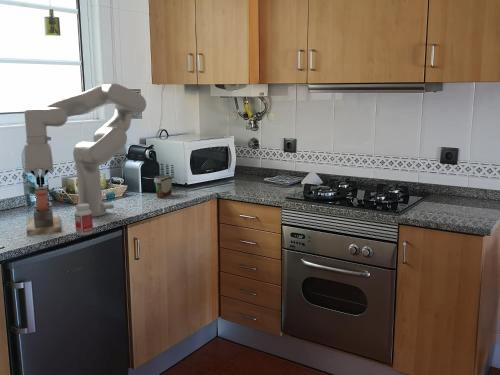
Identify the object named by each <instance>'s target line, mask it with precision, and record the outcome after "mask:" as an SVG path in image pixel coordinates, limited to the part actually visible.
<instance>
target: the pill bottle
mask: <svg viewBox="0 0 500 375" xmlns="http://www.w3.org/2000/svg"><path fill="white" fill-rule="evenodd" d="M75 209H76V211H75V212H74V225H75V234H76V235H77V236H89V235H92V234H93V233H94V225H93V224H94V223H93V222H94V221H93V217H92V211H91V210H89V204H79V203H78V204H76V205H75Z"/></svg>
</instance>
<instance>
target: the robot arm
mask: <svg viewBox="0 0 500 375" xmlns="http://www.w3.org/2000/svg"><path fill="white" fill-rule="evenodd" d="M110 104H111V105H113V104H114V114H113V116H112V117H111V118H110V119H109V120H108V121H107V122H105V123H104V124H103V125H102V126H101V127H100V128H98V129H97V130H96V131H95V133H94V135H93V137H92V138H93V141H92V140H91V141H90V140H82V141H79V142H78V143H76V145H75V146H74V148H73V152H72V155H73V160H74V164H75V168H76V180H77V192H78V193H77V194H78V204H89V210H91V211H92V218H97V217H101V216H105V215H106V214H107V210H108V209H109V210H113V209H114V208H115V206H114V203H113V204H111V203H110V204H109V203H104V202H103V199H102V198H103V197H102V196H103V195H102V181H101V171H100V168H99V166H102V165H104V164H106V163H108V162H109V161H110V160H111V159H112V158H114V157H115V155H117V154H118V153H119V152H120V151H121V150H122V149H123V148H124V147H125V146H126V145H127V144H126V143H127V140H128V135H127V132H128V131H129V129H130V127H131V123H132V115H133V114H135V115H136V114H137V115H139V114H142V113H143V112H145V110H146V108H147V101H146V99H145V97H144V96H143V95H142V94H140V93H139V92H136V91H135V90H132V89H130V88H127V87H125V86H123V85H122V84H118V83H103V84H98V85H97V86H95V87H92V88H91V89H90V88H89V89H87V90H86V91H83V92H81V93H78V94H75V95H72V96H69V97H67V98H64V99H61V100H57V101H54V102H53V103H50V104H48V105H46V106H43V107H42V108H27V109H24V110H25V111H24V124H25V133H26V134H25V135H26V144H24V166H25V168H24V172H25V173H28V174H31V175H33V176H34V177H35V180H36V185H37V186H39V187H43V186H44V185H45V182H46V181H45V176H46V175H47V174H48V173H51V172H54V170H55V169H54V166H53V165H54V164H53V163H54V161H53V152H52V148H51V144H50V143H49V141H52V136H48V132H47V127H63V126H64V125H65V124H66V123H67V122H68V118H69V117H74V116H81V115H86V114H91V112H94V111H95V110H98V109H101V108H102V107H105V106H107V105H110ZM38 170H41V174H40V173H38Z"/></svg>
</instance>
